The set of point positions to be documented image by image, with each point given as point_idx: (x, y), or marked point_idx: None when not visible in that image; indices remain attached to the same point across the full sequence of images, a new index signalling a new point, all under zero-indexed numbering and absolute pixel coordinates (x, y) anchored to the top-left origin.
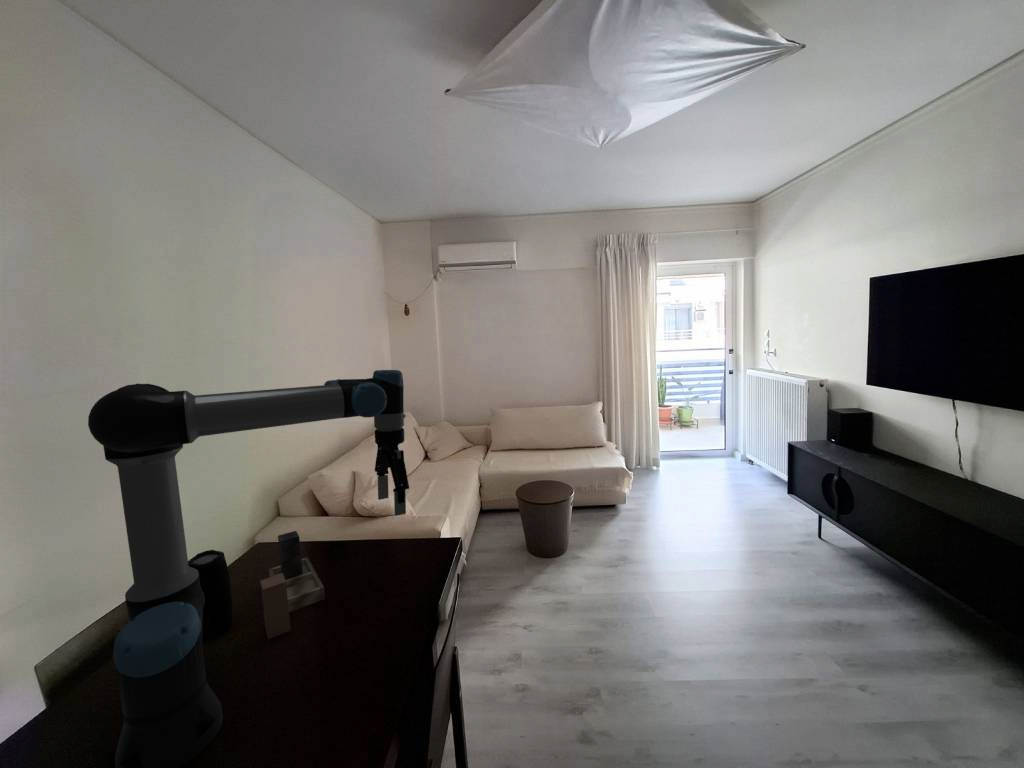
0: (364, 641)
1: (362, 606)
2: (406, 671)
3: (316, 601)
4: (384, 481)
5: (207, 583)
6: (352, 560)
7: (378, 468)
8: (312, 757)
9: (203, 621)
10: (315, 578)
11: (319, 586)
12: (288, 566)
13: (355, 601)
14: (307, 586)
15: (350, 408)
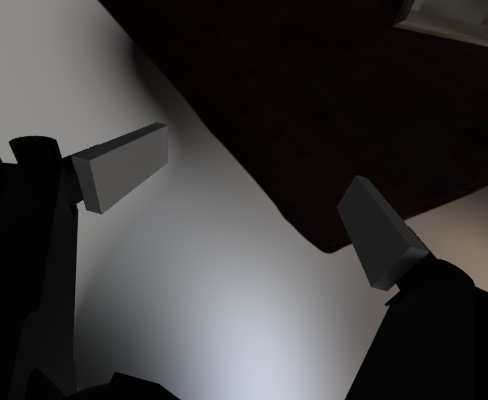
0: (225, 20)
1: (305, 69)
2: (133, 33)
3: (402, 6)
4: (371, 247)
5: None
6: (446, 136)
7: (459, 312)
8: None
9: None
10: (459, 21)
11: (419, 12)
12: None
13: (328, 67)
14: (465, 6)
15: None
